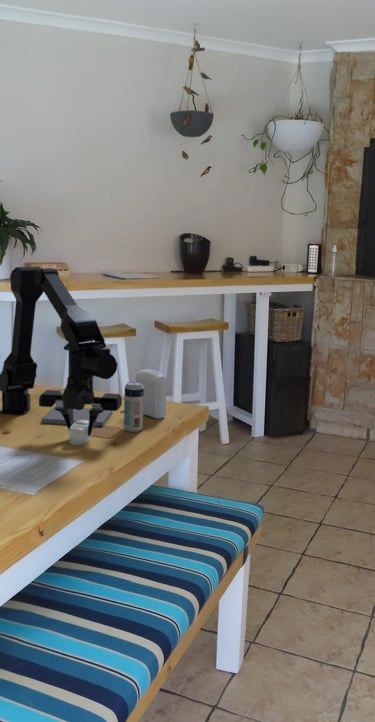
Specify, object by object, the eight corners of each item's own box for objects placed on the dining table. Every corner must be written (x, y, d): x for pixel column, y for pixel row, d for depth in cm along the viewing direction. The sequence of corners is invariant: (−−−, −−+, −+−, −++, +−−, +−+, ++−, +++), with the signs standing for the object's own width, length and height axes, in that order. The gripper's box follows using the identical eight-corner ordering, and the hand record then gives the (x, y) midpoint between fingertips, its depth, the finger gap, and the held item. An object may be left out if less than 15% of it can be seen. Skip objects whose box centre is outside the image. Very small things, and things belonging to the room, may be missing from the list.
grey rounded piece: (67, 444, 161) (67, 430, 161) (79, 430, 172) (79, 416, 172) (84, 445, 161) (84, 431, 160) (95, 431, 172) (95, 417, 171)
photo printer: (132, 411, 191) (133, 367, 189) (145, 409, 194) (146, 365, 191) (155, 420, 183) (156, 374, 181) (168, 417, 186) (169, 372, 184)
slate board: (41, 422, 177) (41, 418, 177) (54, 410, 189) (54, 406, 189) (102, 426, 176) (102, 422, 176) (112, 414, 188) (112, 409, 187)
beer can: (145, 428, 176) (146, 382, 173) (138, 433, 171) (139, 386, 169) (128, 426, 177) (129, 380, 175) (120, 431, 173) (121, 384, 170)
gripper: (31, 376, 155) (31, 443, 158) (113, 381, 153) (112, 448, 157) (45, 366, 166) (46, 428, 169) (122, 370, 164) (121, 433, 167)
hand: (80, 435), depth 165 cm, fingers closed on grey rounded piece, 4 cm apart
